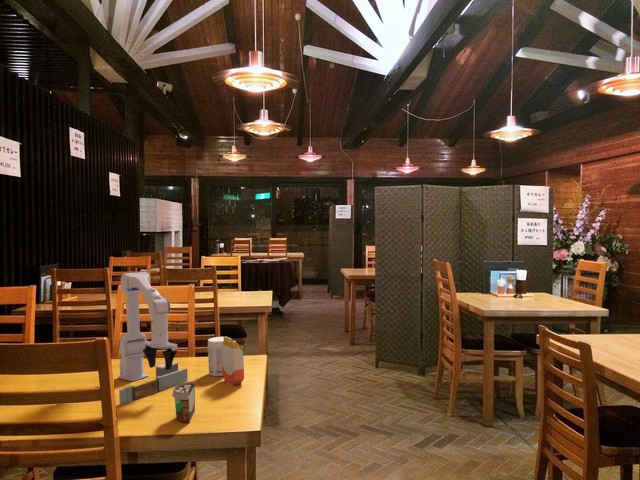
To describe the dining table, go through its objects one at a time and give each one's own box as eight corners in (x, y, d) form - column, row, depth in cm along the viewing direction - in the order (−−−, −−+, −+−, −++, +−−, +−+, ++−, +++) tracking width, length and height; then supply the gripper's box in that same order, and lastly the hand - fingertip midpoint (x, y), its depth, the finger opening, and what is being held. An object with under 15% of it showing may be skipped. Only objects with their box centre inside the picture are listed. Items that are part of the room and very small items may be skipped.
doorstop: (155, 380, 194) (155, 365, 194) (171, 375, 201) (171, 361, 200) (162, 382, 192) (162, 367, 191) (178, 376, 198) (178, 362, 198)
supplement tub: (235, 370, 206) (234, 336, 206) (226, 377, 197) (226, 342, 196) (213, 369, 208) (213, 336, 207) (204, 376, 198) (203, 341, 198)
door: (130, 400, 172) (130, 386, 172) (155, 391, 181) (155, 378, 181) (132, 400, 171) (132, 387, 171) (157, 391, 180) (157, 378, 180)
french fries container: (232, 377, 196) (231, 334, 195) (245, 384, 187) (244, 339, 187) (222, 380, 193) (221, 335, 193) (234, 387, 184) (233, 340, 184)
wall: (119, 403, 168) (118, 389, 168) (184, 380, 193) (184, 367, 193) (122, 404, 167) (121, 390, 167) (188, 381, 193) (187, 368, 192)
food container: (177, 410, 161) (176, 381, 161) (195, 410, 162) (195, 380, 161) (168, 425, 149) (168, 394, 149) (188, 425, 149) (188, 393, 149)
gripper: (136, 332, 176) (137, 368, 176) (167, 335, 170) (168, 373, 170) (150, 328, 182) (151, 363, 182) (180, 331, 176) (181, 367, 177)
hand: (160, 368), depth 177 cm, fingers open, 7 cm apart
